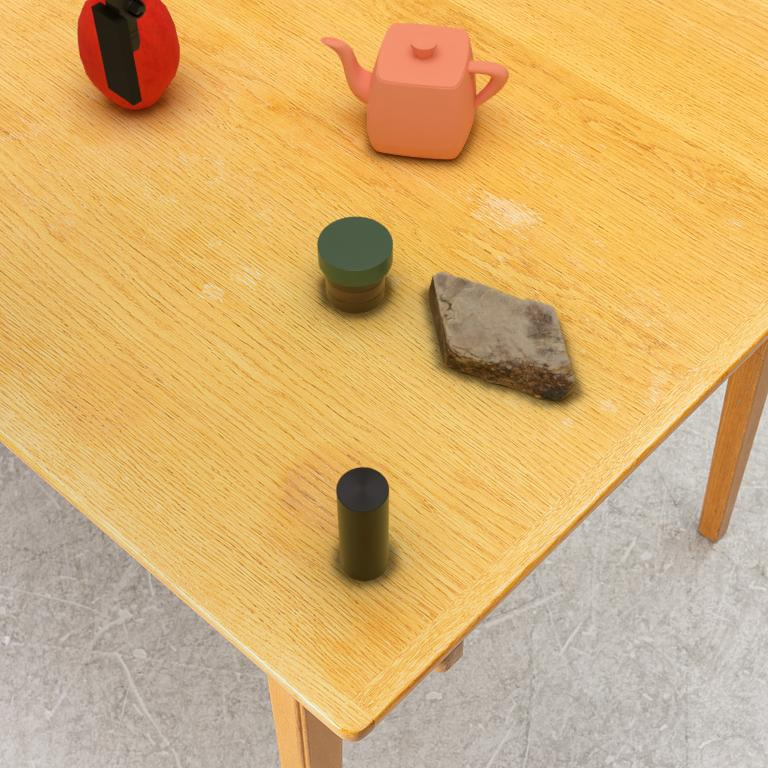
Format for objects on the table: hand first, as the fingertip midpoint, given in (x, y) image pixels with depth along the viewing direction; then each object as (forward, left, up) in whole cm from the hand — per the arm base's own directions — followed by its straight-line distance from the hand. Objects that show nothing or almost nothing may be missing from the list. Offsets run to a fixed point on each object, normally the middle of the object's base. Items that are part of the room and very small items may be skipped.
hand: (44, 143), depth 77 cm
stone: (+32, 0, -26) cm, 42 cm away
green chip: (+21, +7, -22) cm, 31 cm away
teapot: (+29, +29, -26) cm, 49 cm away
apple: (+2, +37, -26) cm, 45 cm away
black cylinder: (+18, -19, -26) cm, 37 cm away
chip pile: (+21, +7, -26) cm, 34 cm away
